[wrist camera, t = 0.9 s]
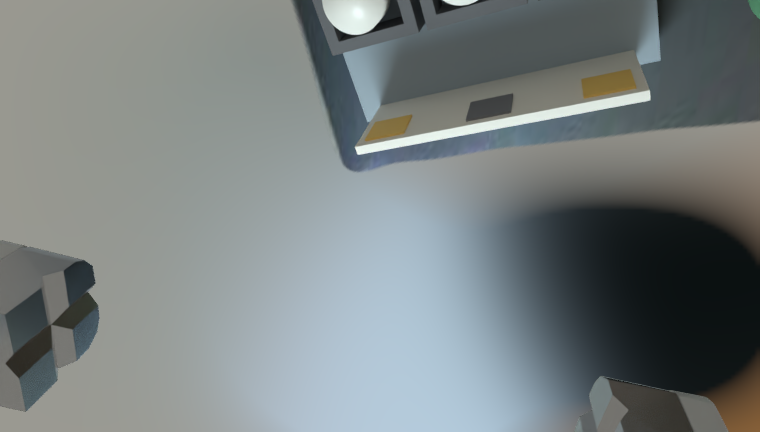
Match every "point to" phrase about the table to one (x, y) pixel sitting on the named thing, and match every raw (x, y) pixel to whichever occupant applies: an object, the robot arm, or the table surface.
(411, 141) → the pattern card
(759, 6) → the alien toy
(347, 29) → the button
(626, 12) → the button board
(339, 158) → the table surface
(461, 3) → the middle button
